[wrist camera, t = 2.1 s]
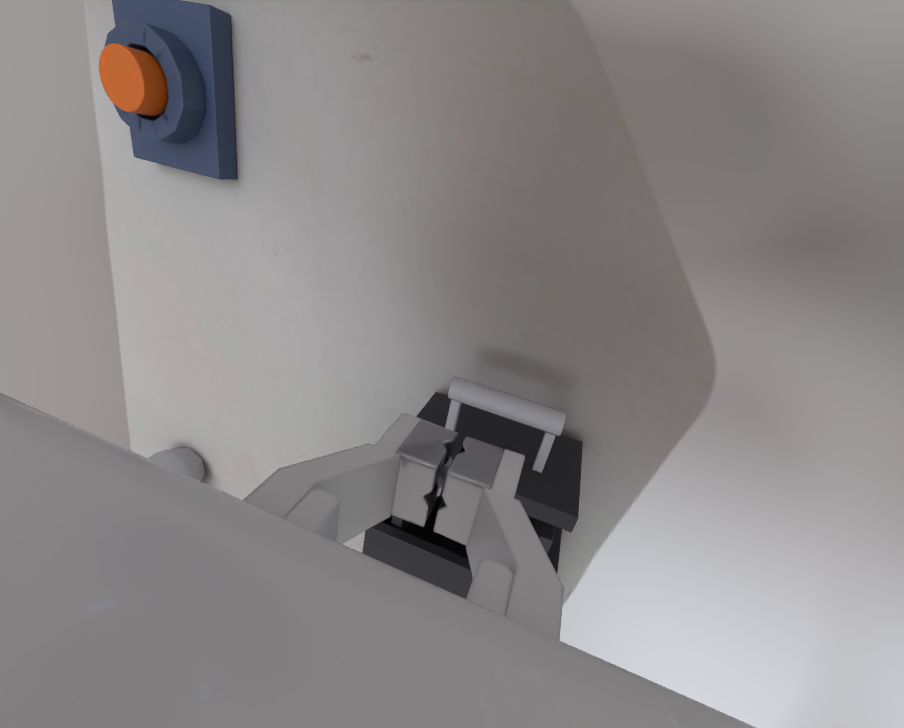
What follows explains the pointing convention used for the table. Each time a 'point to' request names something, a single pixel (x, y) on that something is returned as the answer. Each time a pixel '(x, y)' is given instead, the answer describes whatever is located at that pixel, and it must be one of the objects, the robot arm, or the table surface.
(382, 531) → the black box
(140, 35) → the control block
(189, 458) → the salt shaker
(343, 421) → the table surface
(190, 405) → the table surface
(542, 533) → the drawer
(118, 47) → the button
